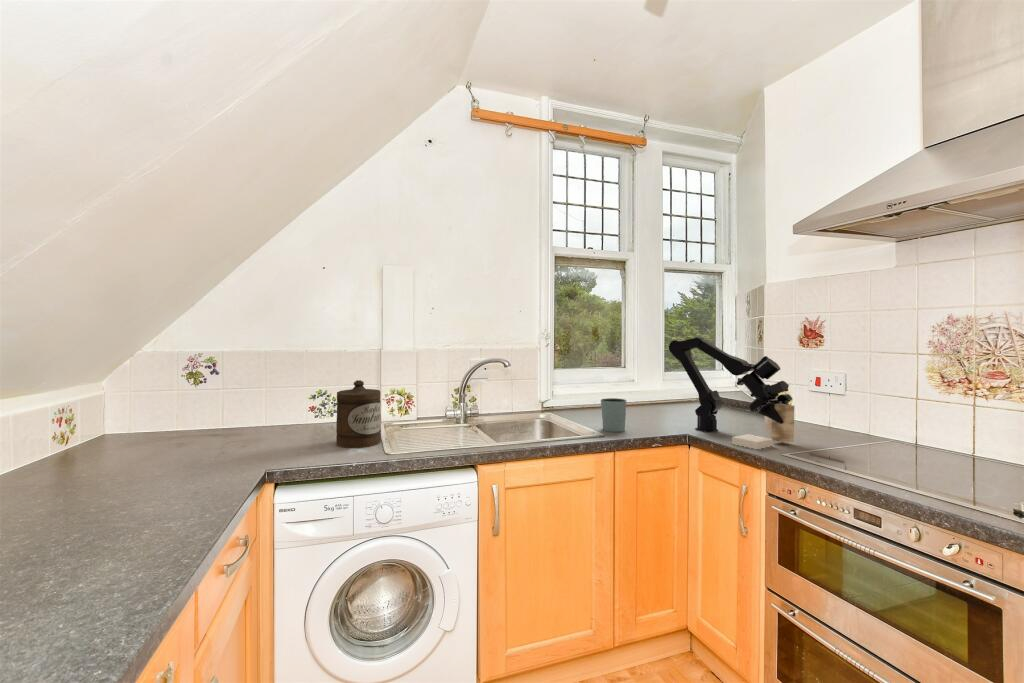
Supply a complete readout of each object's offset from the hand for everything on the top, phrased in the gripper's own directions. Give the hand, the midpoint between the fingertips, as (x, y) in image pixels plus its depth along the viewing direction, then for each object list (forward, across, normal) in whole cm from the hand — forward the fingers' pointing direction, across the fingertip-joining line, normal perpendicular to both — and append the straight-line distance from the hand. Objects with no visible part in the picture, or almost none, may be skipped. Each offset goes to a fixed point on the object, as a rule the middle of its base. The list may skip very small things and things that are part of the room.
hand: (786, 422), depth 166 cm
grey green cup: (-29, -35, +41) cm, 61 cm away
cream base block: (+2, -12, +10) cm, 15 cm away
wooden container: (-48, -128, +61) cm, 150 cm away
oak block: (+4, 0, +6) cm, 7 cm away
